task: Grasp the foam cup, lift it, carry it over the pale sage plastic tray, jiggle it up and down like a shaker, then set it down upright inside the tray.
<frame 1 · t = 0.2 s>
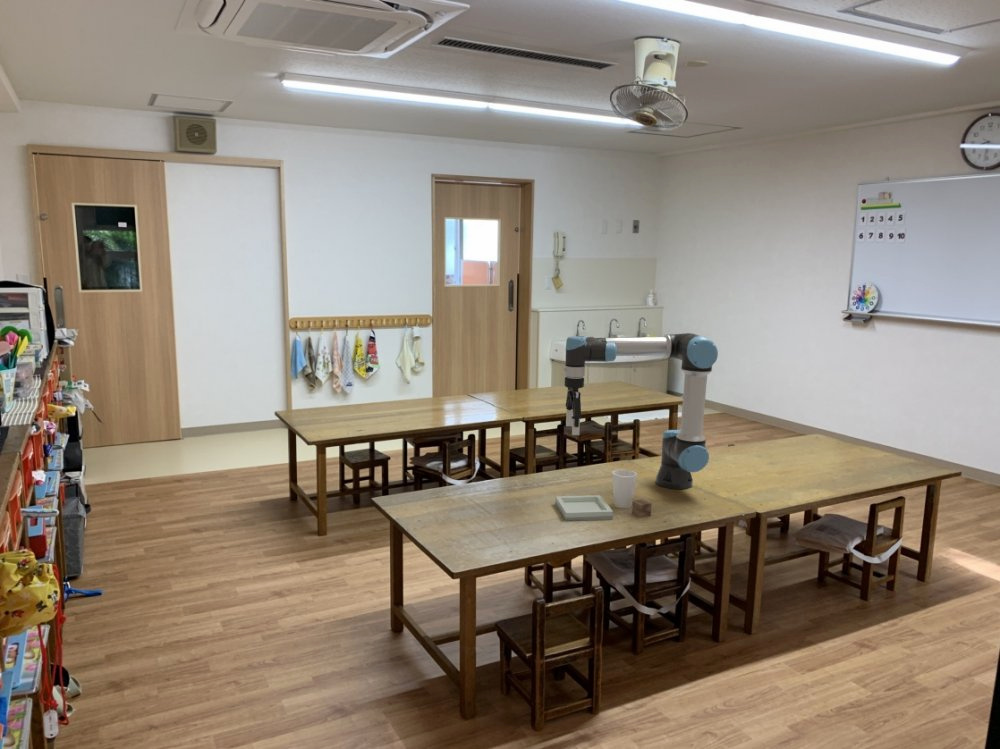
hand: (572, 430, 289), 27 cm above the table, fingers open, 13 cm apart
walnut block: (641, 514, 277), on the table
tray: (583, 511, 279), on the table
foam cup: (622, 505, 286), on the table
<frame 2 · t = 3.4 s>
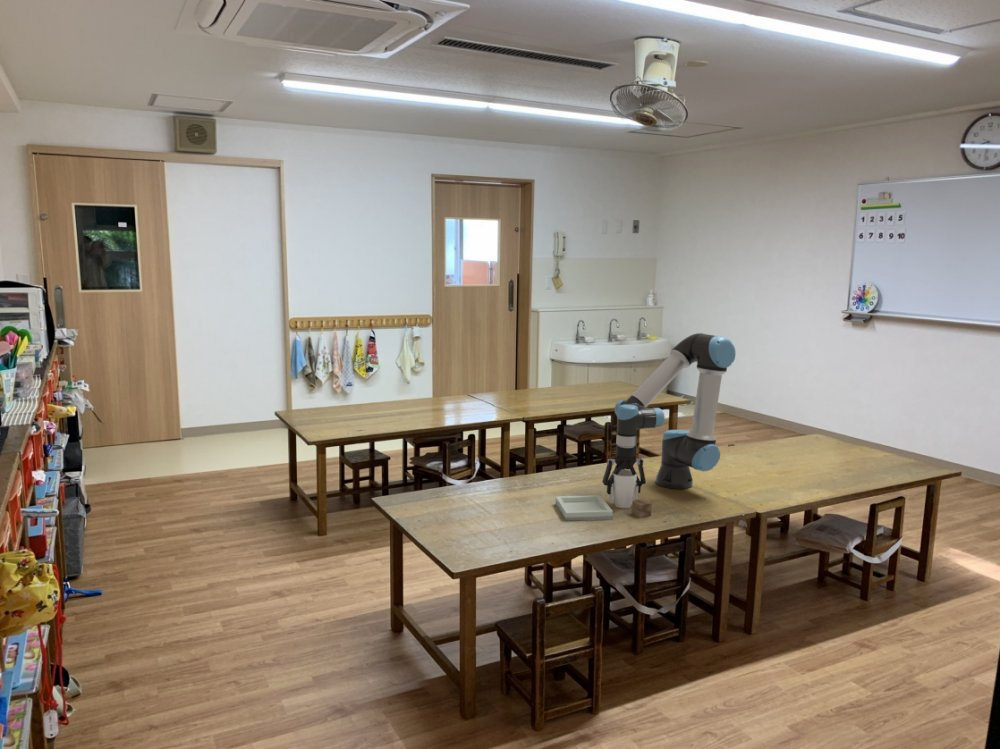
hand: (623, 501, 286), 2 cm above the table, fingers closed on foam cup, 9 cm apart
foam cup: (622, 505, 286), on the table, touching gripper
everything else where it was.
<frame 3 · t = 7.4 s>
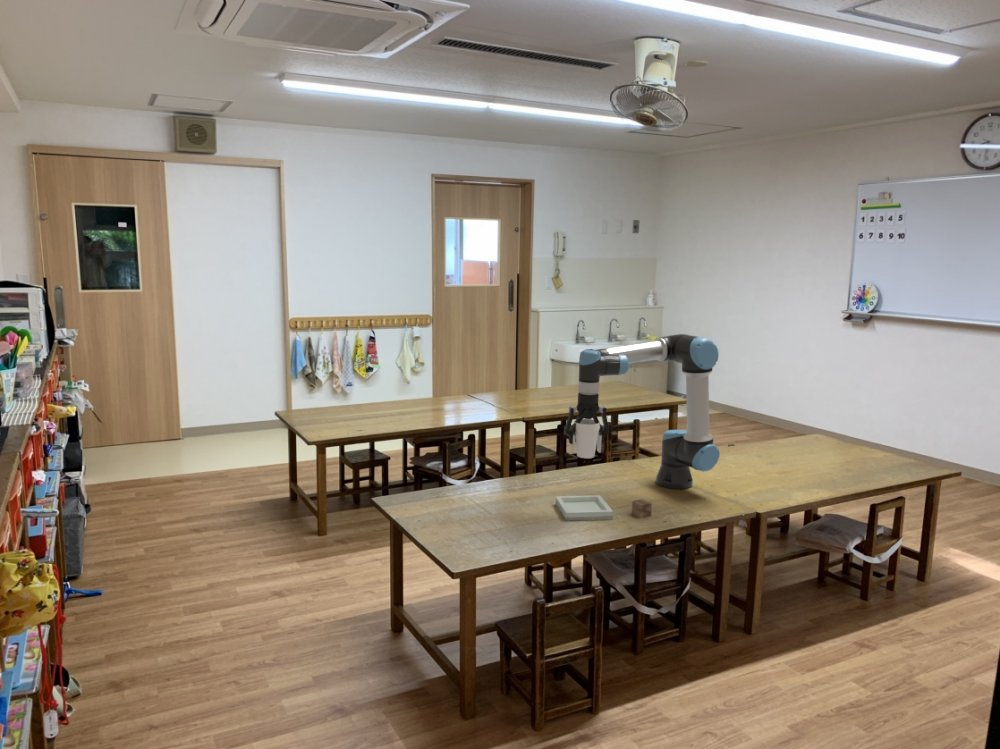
hand: (585, 451, 275), 23 cm above the table, fingers closed on foam cup, 9 cm apart
foam cup: (585, 456, 275), point 21 cm above the table, touching gripper
everything else where it was.
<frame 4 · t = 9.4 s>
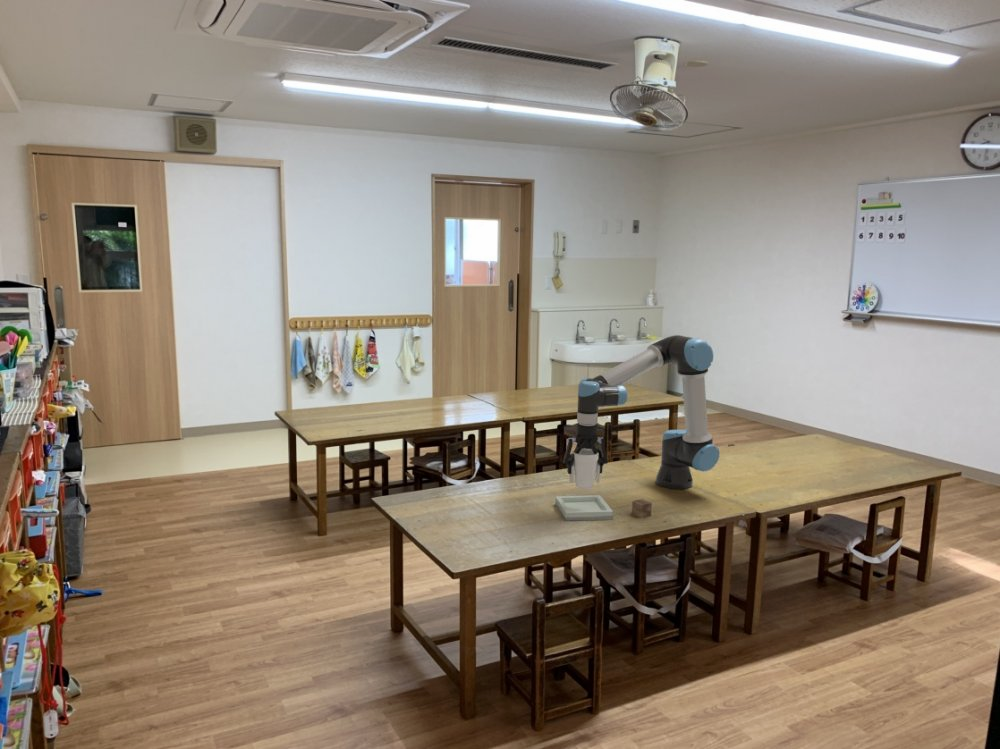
hand: (584, 481, 277), 12 cm above the table, fingers closed on foam cup, 9 cm apart
foam cup: (584, 486, 277), point 10 cm above the table, touching gripper
everything else where it was.
when the fingers open (4 cm above the table, at t = 11.3 s): foam cup drops 2 cm, resting on tray.
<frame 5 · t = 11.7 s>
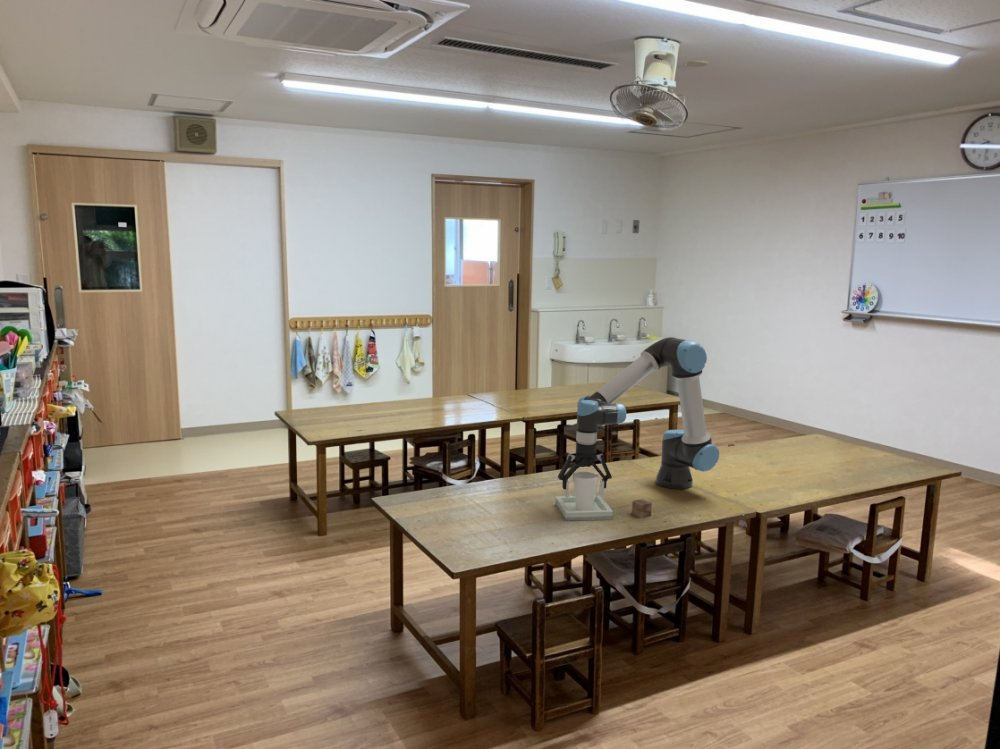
hand: (583, 497, 278), 6 cm above the table, fingers open, 13 cm apart
foam cup: (584, 508, 279), point 1 cm above the table, touching tray
everything else where it was.
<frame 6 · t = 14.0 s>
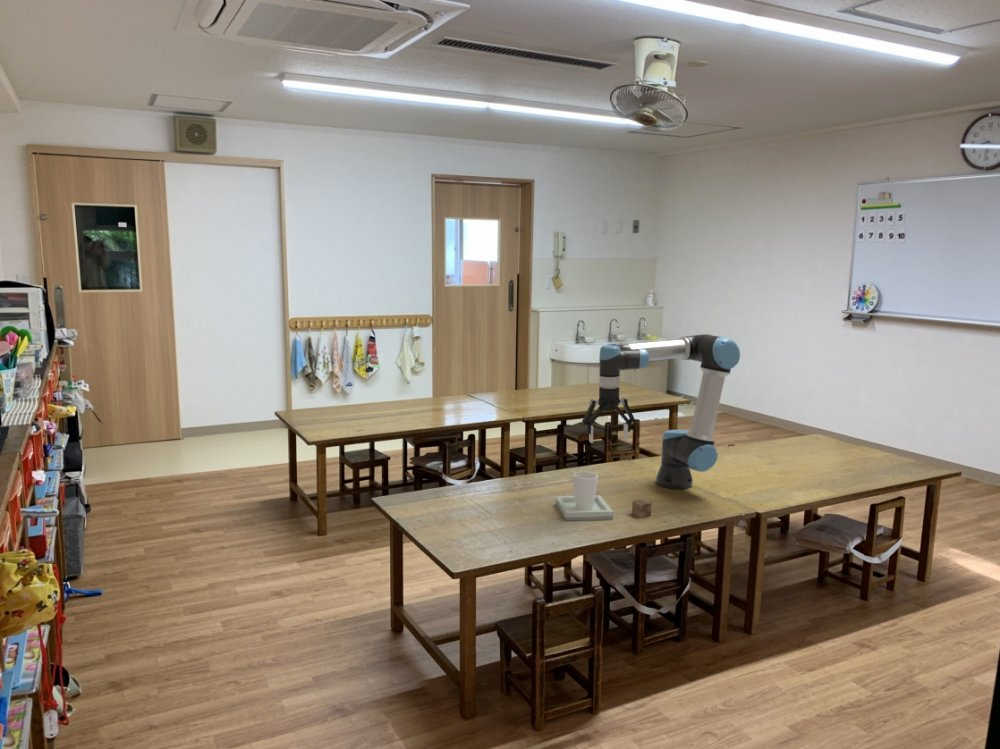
hand: (608, 441, 283), 25 cm above the table, fingers open, 13 cm apart
nothing on the table moved.
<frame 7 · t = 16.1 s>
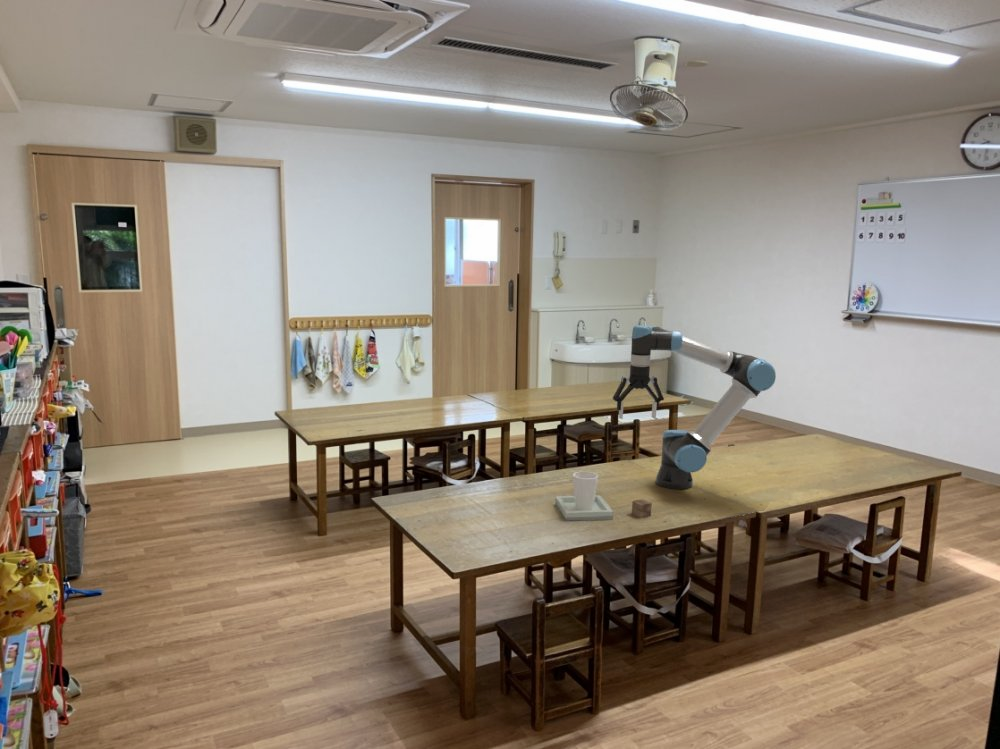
hand: (637, 418, 294), 32 cm above the table, fingers open, 13 cm apart
nothing on the table moved.
at the end: foam cup inside the target area on the tray (0.3 cm from its centre), point 1.0 cm above the tray's base; foam cup tilted 0°; the gripper is holding nothing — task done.
